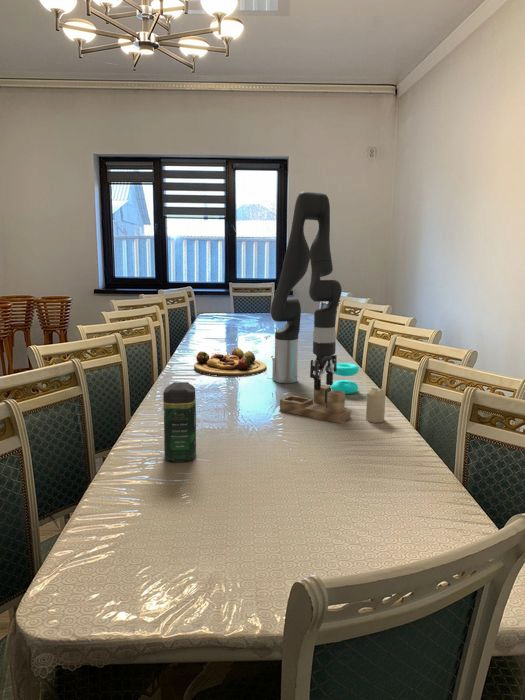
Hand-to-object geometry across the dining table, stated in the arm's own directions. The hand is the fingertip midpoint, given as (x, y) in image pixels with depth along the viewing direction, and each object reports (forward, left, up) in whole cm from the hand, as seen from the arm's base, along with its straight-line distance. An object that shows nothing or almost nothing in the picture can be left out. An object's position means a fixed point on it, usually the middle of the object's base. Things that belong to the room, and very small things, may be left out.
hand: (323, 387), depth 175 cm
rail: (+4, -12, -6) cm, 14 cm away
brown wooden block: (0, 0, -6) cm, 6 cm away
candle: (+22, -6, -6) cm, 23 cm away
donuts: (-1, +19, -6) cm, 20 cm away
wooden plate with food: (-60, +23, -6) cm, 64 cm away
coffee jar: (-6, -62, -6) cm, 63 cm away
